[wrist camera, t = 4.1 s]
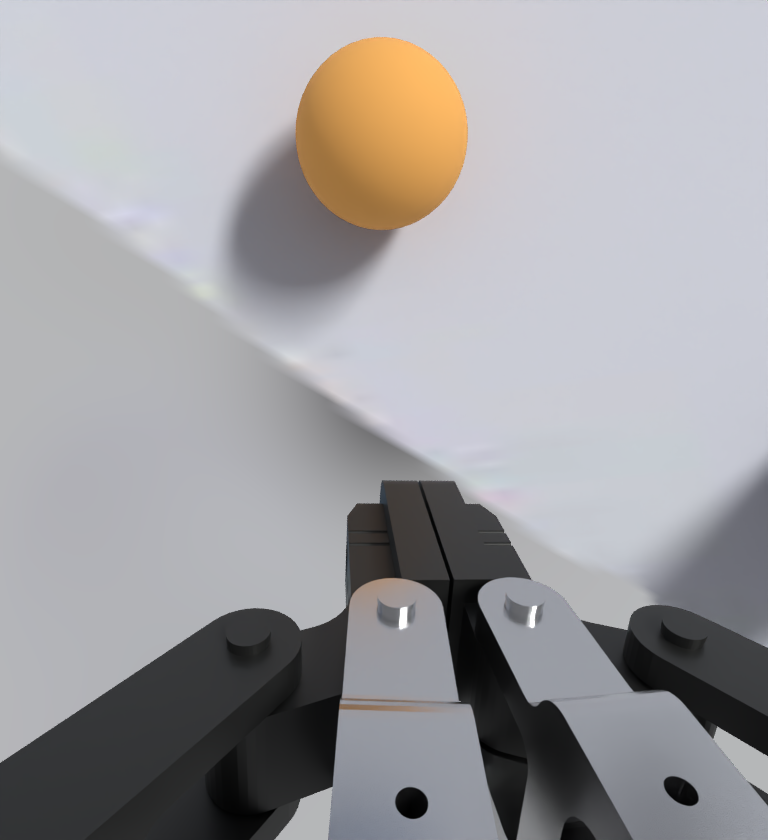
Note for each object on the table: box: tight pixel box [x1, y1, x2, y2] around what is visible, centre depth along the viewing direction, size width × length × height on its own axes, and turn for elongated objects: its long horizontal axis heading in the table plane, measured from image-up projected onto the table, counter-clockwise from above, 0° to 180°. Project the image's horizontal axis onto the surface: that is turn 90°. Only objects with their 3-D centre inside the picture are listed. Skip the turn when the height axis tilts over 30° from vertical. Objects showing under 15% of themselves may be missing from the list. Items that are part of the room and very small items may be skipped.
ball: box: [296, 37, 468, 230], centre depth 20 cm, size 6×6×6 cm
